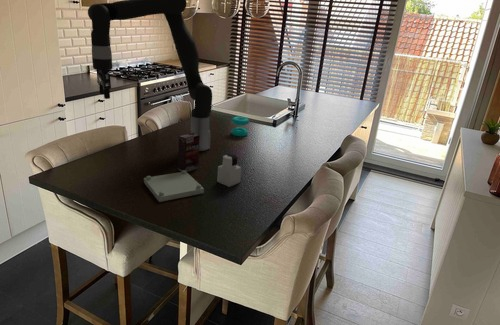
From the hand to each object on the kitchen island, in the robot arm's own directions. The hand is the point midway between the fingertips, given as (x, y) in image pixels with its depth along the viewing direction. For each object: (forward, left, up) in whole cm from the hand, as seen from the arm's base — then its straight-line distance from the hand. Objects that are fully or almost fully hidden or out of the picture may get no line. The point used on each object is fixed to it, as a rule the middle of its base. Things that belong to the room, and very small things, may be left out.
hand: (104, 96), depth 155 cm
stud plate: (-16, +38, -29) cm, 50 cm away
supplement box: (-29, +23, -30) cm, 47 cm away
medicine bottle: (-39, +42, -30) cm, 64 cm away
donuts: (-77, -14, -30) cm, 84 cm away
